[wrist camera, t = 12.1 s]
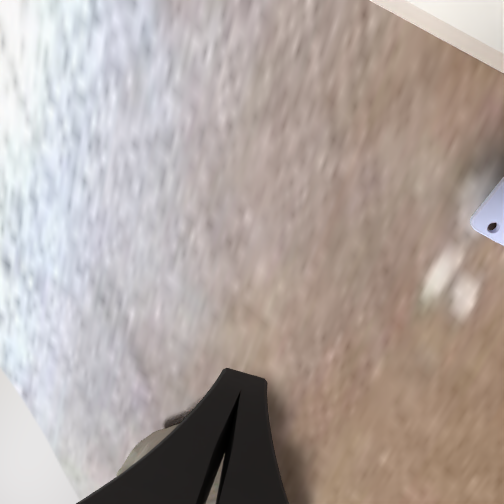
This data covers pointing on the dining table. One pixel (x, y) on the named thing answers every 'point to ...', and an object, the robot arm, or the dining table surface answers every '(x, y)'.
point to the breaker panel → (458, 24)
